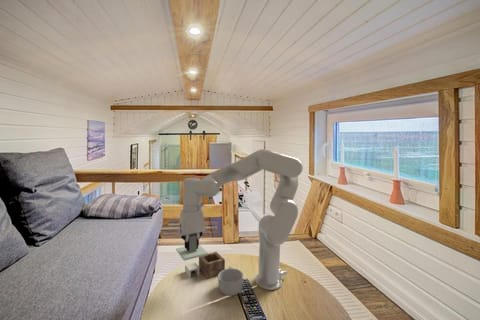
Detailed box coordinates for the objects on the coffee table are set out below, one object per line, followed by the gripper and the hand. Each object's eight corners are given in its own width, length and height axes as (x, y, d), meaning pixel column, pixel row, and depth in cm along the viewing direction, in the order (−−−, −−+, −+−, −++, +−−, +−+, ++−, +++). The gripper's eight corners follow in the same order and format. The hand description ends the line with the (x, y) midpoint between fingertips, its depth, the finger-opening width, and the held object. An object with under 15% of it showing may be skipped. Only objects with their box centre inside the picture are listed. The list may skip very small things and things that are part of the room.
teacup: (240, 301, 102) (240, 282, 101) (214, 298, 104) (215, 280, 103) (245, 281, 116) (245, 265, 115) (222, 279, 117) (222, 263, 117)
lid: (198, 245, 114) (198, 229, 114) (207, 254, 105) (207, 237, 105) (176, 250, 109) (176, 233, 108) (183, 260, 100) (183, 242, 99)
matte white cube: (194, 271, 124) (194, 261, 124) (199, 277, 119) (199, 267, 118) (185, 274, 121) (185, 264, 121) (189, 280, 116) (189, 270, 116)
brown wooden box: (216, 266, 129) (216, 251, 128) (224, 275, 121) (224, 259, 120) (198, 271, 124) (198, 256, 123) (206, 280, 116) (206, 264, 115)
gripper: (206, 202, 113) (205, 241, 114) (170, 207, 104) (170, 249, 106) (213, 206, 106) (212, 248, 108) (175, 212, 98) (175, 256, 99)
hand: (191, 248), depth 107 cm, fingers closed on lid, 3 cm apart
